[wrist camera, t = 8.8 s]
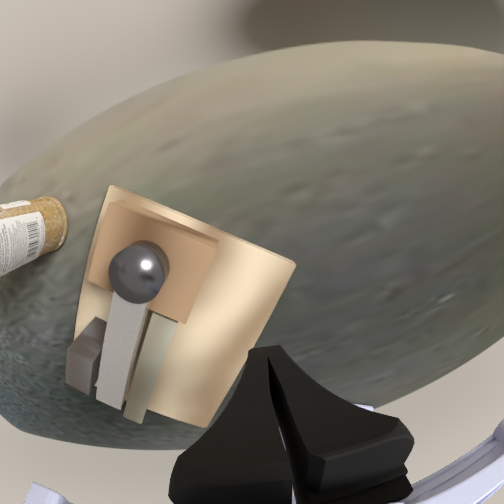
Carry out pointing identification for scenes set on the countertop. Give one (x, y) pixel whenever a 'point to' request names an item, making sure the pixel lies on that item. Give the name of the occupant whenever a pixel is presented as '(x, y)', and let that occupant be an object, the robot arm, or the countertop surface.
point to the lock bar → (128, 314)
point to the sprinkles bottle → (30, 231)
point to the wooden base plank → (177, 309)
